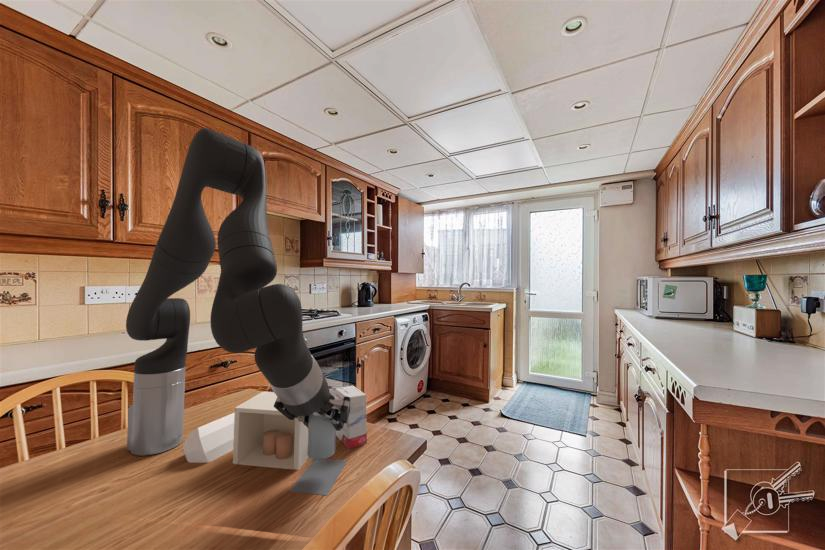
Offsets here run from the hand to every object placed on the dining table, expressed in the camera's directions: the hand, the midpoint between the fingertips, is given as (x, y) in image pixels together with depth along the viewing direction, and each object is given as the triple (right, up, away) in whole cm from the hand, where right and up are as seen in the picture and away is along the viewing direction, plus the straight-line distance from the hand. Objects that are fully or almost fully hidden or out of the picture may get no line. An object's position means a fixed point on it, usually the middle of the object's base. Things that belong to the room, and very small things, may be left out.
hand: (325, 424), depth 64 cm
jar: (0, -4, -2) cm, 5 cm away
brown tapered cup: (-14, -9, +6) cm, 17 cm away
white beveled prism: (-24, -10, +12) cm, 29 cm away
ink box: (+2, -10, +13) cm, 16 cm away
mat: (0, -9, -2) cm, 10 cm away
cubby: (-12, -9, +5) cm, 16 cm away
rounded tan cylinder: (-10, -9, +5) cm, 14 cm away
